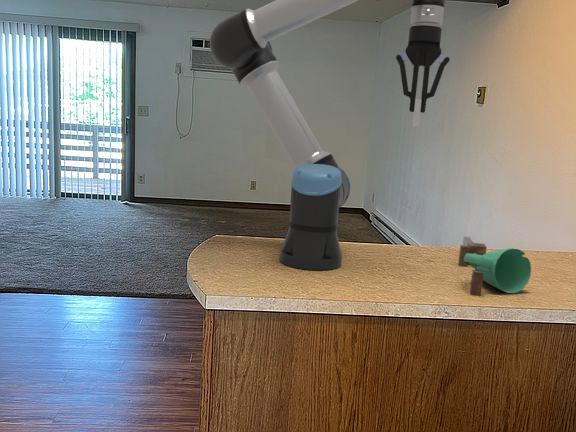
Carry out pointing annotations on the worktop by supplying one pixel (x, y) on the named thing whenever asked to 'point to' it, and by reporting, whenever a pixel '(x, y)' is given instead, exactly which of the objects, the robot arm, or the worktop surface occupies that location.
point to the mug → (502, 268)
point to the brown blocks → (476, 274)
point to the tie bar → (466, 240)
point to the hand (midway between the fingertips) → (415, 125)
